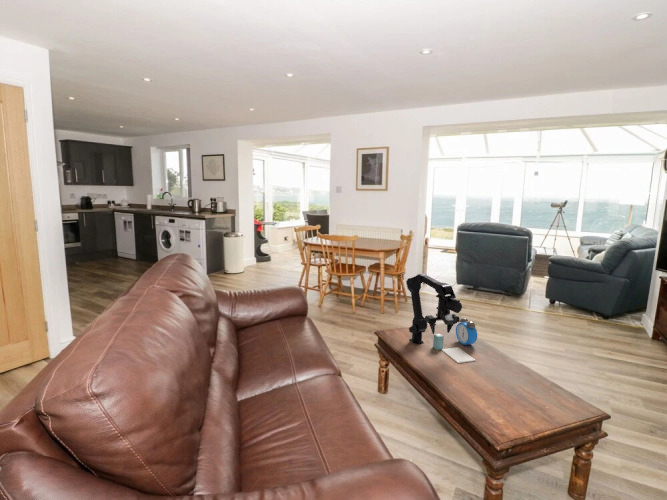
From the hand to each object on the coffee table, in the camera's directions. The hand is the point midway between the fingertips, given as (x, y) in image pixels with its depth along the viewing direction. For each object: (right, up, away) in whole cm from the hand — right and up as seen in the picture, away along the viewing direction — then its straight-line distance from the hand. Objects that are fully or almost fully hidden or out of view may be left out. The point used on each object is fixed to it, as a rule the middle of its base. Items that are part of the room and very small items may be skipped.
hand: (440, 333), depth 200 cm
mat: (+10, -13, +1) cm, 16 cm away
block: (+1, -11, +10) cm, 15 cm away
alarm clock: (+20, -10, +17) cm, 28 cm away
